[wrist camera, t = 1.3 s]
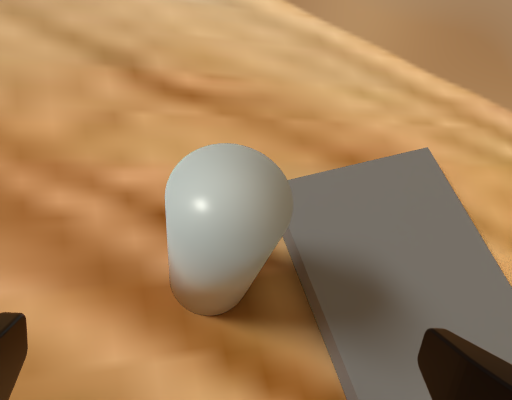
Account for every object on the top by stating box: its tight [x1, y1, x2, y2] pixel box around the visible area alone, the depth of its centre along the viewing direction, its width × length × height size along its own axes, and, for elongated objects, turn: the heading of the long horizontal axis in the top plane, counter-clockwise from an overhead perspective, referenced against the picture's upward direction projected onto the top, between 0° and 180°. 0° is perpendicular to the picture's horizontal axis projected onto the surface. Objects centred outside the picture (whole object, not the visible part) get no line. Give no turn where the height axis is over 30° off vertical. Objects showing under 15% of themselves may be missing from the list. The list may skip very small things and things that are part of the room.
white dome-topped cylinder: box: [165, 143, 293, 316], centre depth 18 cm, size 4×4×10 cm
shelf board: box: [283, 147, 512, 400], centre depth 24 cm, size 14×12×2 cm
